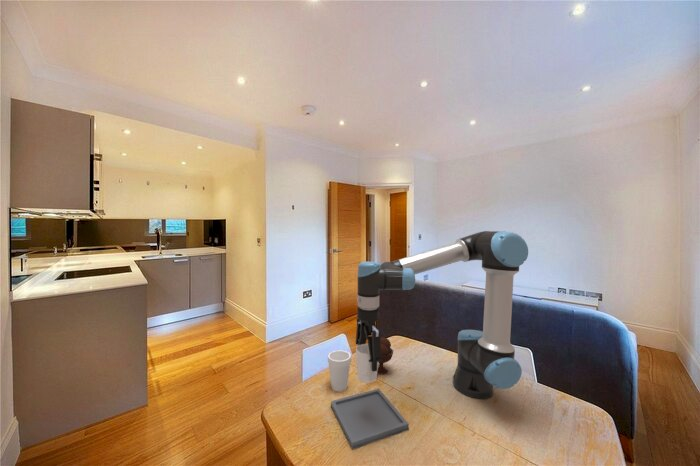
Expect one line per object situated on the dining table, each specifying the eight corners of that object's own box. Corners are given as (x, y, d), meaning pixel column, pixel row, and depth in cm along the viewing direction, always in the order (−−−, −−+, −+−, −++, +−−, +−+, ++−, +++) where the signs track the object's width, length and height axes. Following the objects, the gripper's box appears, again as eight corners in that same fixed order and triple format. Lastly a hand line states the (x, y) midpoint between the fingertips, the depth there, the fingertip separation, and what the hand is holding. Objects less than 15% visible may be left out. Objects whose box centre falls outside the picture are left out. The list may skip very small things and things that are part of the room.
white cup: (377, 385, 85) (377, 355, 85) (353, 382, 87) (354, 352, 87) (379, 372, 93) (379, 344, 93) (357, 370, 94) (358, 342, 94)
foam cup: (323, 390, 105) (324, 358, 105) (333, 378, 113) (333, 348, 113) (345, 396, 101) (345, 363, 101) (354, 383, 110) (354, 352, 110)
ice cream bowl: (376, 362, 127) (376, 331, 127) (397, 369, 121) (397, 337, 120) (364, 372, 118) (364, 339, 118) (386, 380, 112) (386, 346, 112)
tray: (378, 393, 103) (378, 388, 103) (408, 429, 85) (408, 423, 85) (330, 406, 95) (330, 401, 95) (352, 449, 77) (352, 442, 77)
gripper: (346, 300, 97) (346, 360, 98) (372, 318, 78) (371, 392, 79) (365, 298, 100) (364, 357, 101) (393, 315, 81) (392, 387, 82)
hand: (367, 372), depth 90 cm, fingers closed on white cup, 8 cm apart
